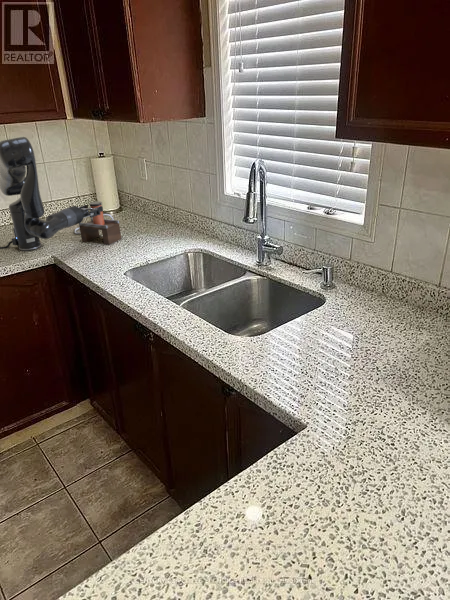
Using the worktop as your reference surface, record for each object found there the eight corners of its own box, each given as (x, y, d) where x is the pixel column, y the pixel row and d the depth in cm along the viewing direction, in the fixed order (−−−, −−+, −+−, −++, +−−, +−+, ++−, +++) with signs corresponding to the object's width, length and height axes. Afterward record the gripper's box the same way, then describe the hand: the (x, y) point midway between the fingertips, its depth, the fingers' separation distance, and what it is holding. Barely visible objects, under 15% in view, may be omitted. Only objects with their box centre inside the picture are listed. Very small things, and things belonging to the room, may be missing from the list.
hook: (116, 228, 223) (77, 239, 218) (114, 223, 231) (76, 234, 226) (112, 214, 219) (71, 225, 215) (110, 209, 227) (70, 220, 223)
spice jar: (90, 225, 204) (86, 203, 200) (98, 222, 208) (94, 201, 204) (99, 226, 202) (96, 204, 197) (107, 223, 206) (104, 201, 202)
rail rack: (82, 241, 208) (78, 223, 204) (94, 235, 215) (91, 217, 212) (109, 244, 202) (106, 226, 198) (121, 238, 209) (118, 220, 205)
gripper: (80, 209, 184) (105, 200, 197) (54, 207, 189) (80, 198, 202) (83, 227, 187) (108, 217, 200) (58, 224, 193) (83, 214, 206)
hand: (94, 207), depth 201 cm, fingers open, 8 cm apart
